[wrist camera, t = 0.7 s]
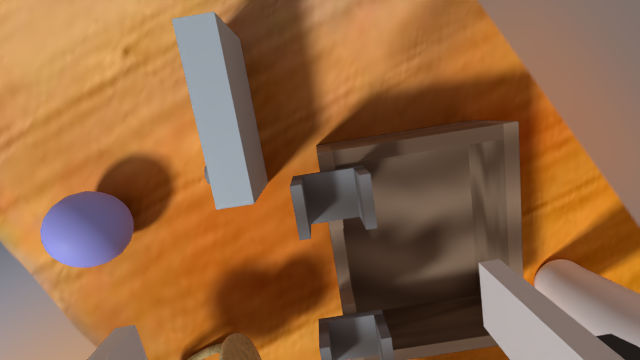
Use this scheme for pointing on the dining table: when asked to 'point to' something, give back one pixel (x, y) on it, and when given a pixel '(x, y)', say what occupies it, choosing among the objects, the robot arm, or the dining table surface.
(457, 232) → the box
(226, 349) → the wall sconce
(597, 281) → the drinking glass
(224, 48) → the door
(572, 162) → the dining table surface
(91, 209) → the sphere
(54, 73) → the dining table surface
